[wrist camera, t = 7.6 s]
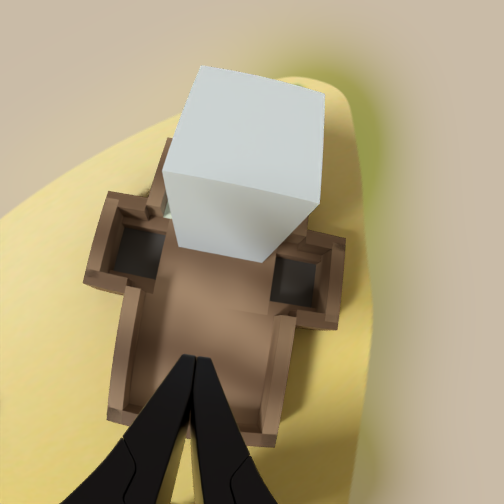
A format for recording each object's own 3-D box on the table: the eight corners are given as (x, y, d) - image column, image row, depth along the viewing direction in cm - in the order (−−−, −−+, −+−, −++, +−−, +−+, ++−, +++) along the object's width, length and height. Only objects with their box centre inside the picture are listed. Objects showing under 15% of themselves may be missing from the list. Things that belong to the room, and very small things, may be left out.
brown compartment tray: (302, 434, 20) (316, 448, 17) (82, 397, 18) (66, 406, 15) (332, 194, 26) (348, 178, 23) (136, 154, 24) (130, 132, 21)
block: (262, 262, 22) (319, 203, 11) (178, 246, 21) (162, 170, 11) (273, 188, 23) (324, 93, 13) (196, 172, 23) (201, 65, 12)
